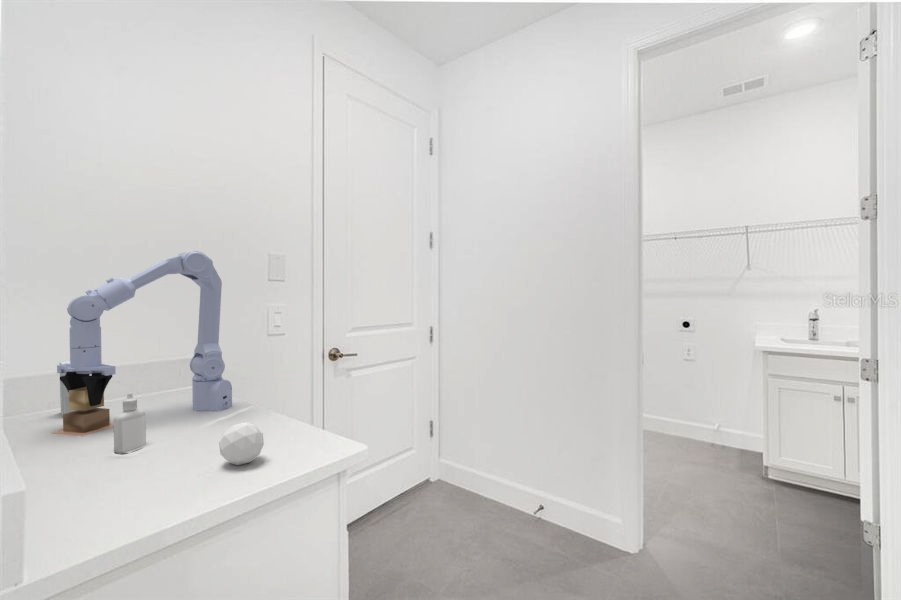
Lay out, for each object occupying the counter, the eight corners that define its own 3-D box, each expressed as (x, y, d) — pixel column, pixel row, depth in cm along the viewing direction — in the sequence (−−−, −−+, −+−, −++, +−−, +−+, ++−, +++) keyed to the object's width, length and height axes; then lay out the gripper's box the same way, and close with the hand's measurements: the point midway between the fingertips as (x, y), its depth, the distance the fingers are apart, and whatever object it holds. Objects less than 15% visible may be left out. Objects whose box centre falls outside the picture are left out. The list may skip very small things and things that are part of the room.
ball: (242, 480, 84) (228, 457, 79) (219, 457, 87) (204, 434, 83) (276, 452, 88) (265, 428, 83) (253, 431, 92) (241, 407, 87)
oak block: (104, 405, 105) (103, 387, 105) (85, 410, 101) (84, 391, 101) (88, 404, 106) (88, 386, 106) (69, 409, 102) (68, 390, 102)
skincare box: (91, 417, 116) (91, 361, 116) (61, 422, 112) (60, 363, 111) (88, 411, 122) (88, 357, 122) (59, 415, 118) (58, 360, 117)
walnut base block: (109, 425, 106) (109, 408, 106) (84, 433, 100) (84, 415, 100) (89, 423, 107) (89, 407, 107) (63, 431, 101) (62, 414, 101)
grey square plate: (165, 419, 114) (165, 416, 114) (103, 441, 97) (103, 437, 97) (114, 416, 117) (114, 413, 117) (45, 436, 101) (45, 432, 101)
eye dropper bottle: (148, 449, 92) (148, 392, 92) (115, 456, 88) (114, 397, 88) (144, 444, 95) (143, 389, 95) (112, 451, 91) (111, 393, 91)
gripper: (42, 348, 101) (43, 407, 101) (94, 350, 98) (95, 410, 98) (74, 344, 108) (75, 399, 108) (123, 346, 105) (124, 402, 105)
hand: (86, 404), depth 104 cm, fingers closed on oak block, 4 cm apart
